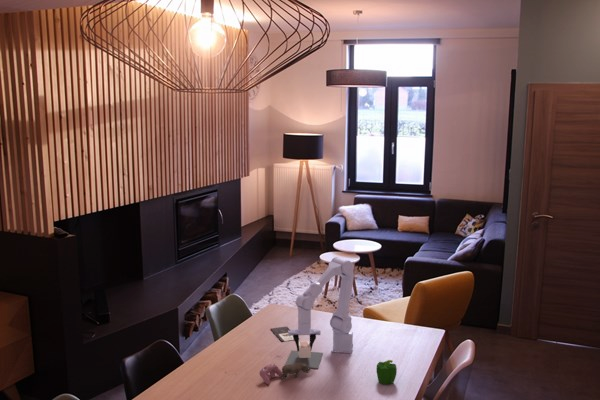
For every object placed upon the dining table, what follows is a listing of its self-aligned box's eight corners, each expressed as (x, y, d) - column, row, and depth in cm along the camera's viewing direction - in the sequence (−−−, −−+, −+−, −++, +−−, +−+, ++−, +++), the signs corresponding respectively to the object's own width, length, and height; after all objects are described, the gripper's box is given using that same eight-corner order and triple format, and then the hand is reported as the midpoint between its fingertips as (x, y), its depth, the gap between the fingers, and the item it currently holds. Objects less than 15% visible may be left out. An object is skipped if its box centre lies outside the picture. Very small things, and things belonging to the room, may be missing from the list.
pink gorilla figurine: (277, 378, 241) (271, 362, 242) (284, 376, 239) (278, 360, 240) (261, 386, 234) (256, 370, 235) (269, 384, 231) (263, 368, 232)
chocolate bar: (286, 326, 297) (298, 338, 280) (286, 328, 297) (298, 340, 281) (270, 328, 294) (281, 341, 277) (270, 330, 294) (281, 342, 277)
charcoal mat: (323, 353, 263) (323, 352, 263) (317, 369, 247) (317, 368, 247) (291, 351, 266) (291, 350, 266) (284, 366, 249) (284, 365, 249)
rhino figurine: (313, 376, 240) (313, 362, 239) (282, 381, 235) (282, 367, 235) (309, 372, 244) (309, 359, 243) (279, 377, 239) (279, 363, 238)
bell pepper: (371, 382, 234) (372, 359, 233) (383, 376, 240) (384, 353, 239) (387, 389, 229) (388, 365, 227) (399, 382, 234) (400, 359, 233)
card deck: (310, 357, 252) (310, 347, 251) (299, 357, 252) (299, 347, 251) (308, 350, 260) (308, 340, 260) (297, 350, 260) (297, 340, 259)
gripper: (319, 318, 258) (319, 346, 260) (287, 318, 257) (287, 347, 259) (321, 323, 251) (320, 352, 253) (288, 324, 250) (288, 353, 252)
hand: (304, 350), depth 256 cm, fingers closed on card deck, 5 cm apart
